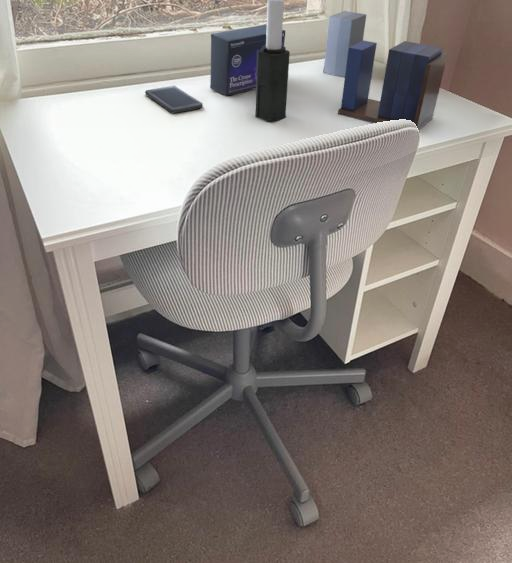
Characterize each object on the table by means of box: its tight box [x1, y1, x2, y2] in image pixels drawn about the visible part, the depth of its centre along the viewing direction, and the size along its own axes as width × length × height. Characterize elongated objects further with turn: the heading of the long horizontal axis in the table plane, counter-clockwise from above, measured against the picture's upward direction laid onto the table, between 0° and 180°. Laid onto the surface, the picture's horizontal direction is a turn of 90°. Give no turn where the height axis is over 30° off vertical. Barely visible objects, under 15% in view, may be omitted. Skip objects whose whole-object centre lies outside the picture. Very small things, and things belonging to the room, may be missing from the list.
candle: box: [254, 0, 291, 123], centre depth 102 cm, size 5×5×25 cm
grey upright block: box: [323, 10, 367, 78], centre depth 132 cm, size 6×8×13 cm
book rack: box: [337, 40, 449, 131], centre depth 107 cm, size 17×10×14 cm, turn 56°
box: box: [209, 23, 286, 97], centre depth 121 cm, size 17×7×12 cm, turn 132°
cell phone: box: [144, 85, 204, 114], centre depth 115 cm, size 7×14×1 cm, turn 34°
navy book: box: [340, 40, 378, 111], centre depth 110 cm, size 3×7×12 cm, turn 147°
